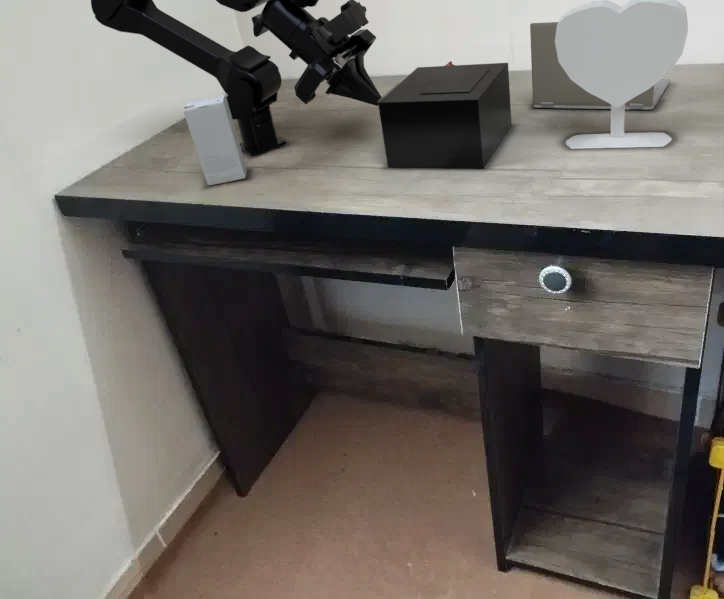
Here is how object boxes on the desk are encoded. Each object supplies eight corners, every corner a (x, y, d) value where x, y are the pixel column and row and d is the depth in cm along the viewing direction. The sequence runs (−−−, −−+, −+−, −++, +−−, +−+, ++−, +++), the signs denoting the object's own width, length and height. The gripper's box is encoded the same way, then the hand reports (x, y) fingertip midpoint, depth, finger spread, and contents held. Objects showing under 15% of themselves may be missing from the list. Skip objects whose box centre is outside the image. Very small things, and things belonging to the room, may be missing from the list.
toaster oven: (382, 167, 104) (371, 102, 99) (419, 127, 116) (411, 66, 111) (483, 168, 98) (477, 98, 92) (511, 125, 109) (508, 61, 104)
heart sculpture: (679, 132, 97) (689, -10, 88) (679, 146, 93) (690, -1, 84) (560, 135, 103) (558, 2, 94) (556, 149, 99) (553, 11, 90)
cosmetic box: (247, 169, 112) (227, 92, 106) (246, 180, 108) (225, 101, 102) (208, 176, 112) (186, 100, 106) (205, 187, 108) (182, 109, 102)
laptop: (670, 83, 114) (676, -4, 107) (652, 111, 105) (657, 18, 98) (557, 83, 123) (556, 2, 116) (532, 109, 114) (529, 23, 107)
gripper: (295, 2, 94) (386, 83, 95) (353, -28, 108) (432, 43, 109) (259, 66, 101) (343, 140, 102) (317, 31, 115) (391, 96, 116)
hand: (380, 102), depth 107 cm, fingers closed
